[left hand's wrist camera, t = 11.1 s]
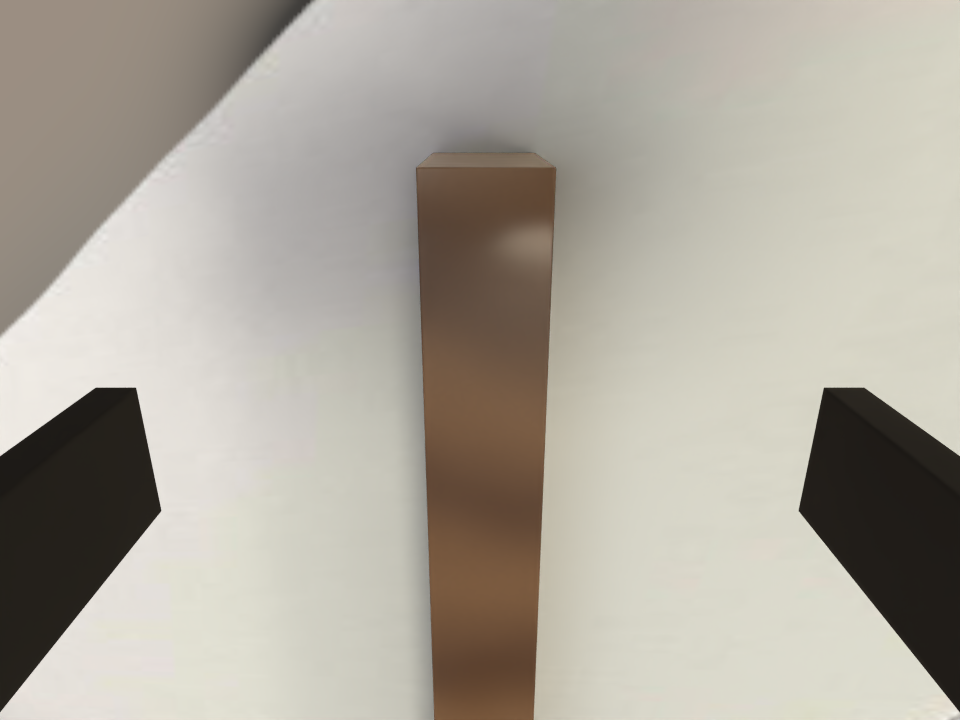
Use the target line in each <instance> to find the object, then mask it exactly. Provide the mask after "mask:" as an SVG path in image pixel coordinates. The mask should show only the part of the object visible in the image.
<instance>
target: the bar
mask: <svg viewBox="0 0 960 720" xmlns="http://www.w3.org/2000/svg"><path fill="white" fill-rule="evenodd" d="M416 181H417V212H418V242H419V272H420V302H421V332H422V362H423V393H424V423H425V453H426V483H427V513H428V543H429V574H430V604H431V634H432V664H433V694H434V720H534V696H535V672H536V647H537V623H538V599H539V574H540V550H541V525H542V501H543V477H544V452H545V428H546V403H547V379H548V355H549V330H550V306H551V281H552V257H553V233H554V208H555V184H556V168H555V167H554V166H553V165H551V164H550V163H548V162H547V161H546V160H544V159H543V158H541V157H540V156H539V155H537V154H536V153H433V154H431V155H430V156H429V157H428V158H427V159H426V160H425V161H423V162H422V163H421V164H420V165H419V166H418V167H417V168H416Z"/></svg>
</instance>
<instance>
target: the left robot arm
mask: <svg viewBox="0 0 960 720" xmlns="http://www.w3.org/2000/svg"><path fill="white" fill-rule="evenodd" d="M160 512H161V507H160V502H159V497H158V492H157V487H156V482H155V478H154V473H153V468H152V463H151V458H150V453H149V448H148V444H147V439H146V434H145V429H144V424H143V419H142V414H141V410H140V405H139V400H138V395H137V390H136V388H95V389H93V390H92V391H91V392H89V393H88V394H86V395H85V396H84V397H82V398H81V399H79V400H78V401H77V402H75V403H74V404H72V405H71V406H70V407H68V408H67V409H66V410H64V411H63V412H61V413H60V414H59V415H57V416H56V417H54V418H53V419H52V420H50V421H49V422H47V423H46V424H45V425H43V426H42V427H40V428H39V429H38V430H36V431H35V432H33V433H32V434H31V435H29V436H28V437H26V438H25V439H24V440H22V441H21V442H19V443H18V444H17V445H15V446H14V447H12V448H11V449H10V450H8V451H7V452H5V453H4V454H3V455H1V456H0V712H1V710H2V709H3V708H4V707H5V705H6V704H7V703H8V702H9V700H10V699H11V698H12V697H13V695H14V694H15V693H16V692H17V690H18V689H19V688H20V687H21V685H22V684H23V683H24V682H25V680H26V679H27V678H28V677H29V675H30V674H31V673H32V672H33V670H34V669H35V668H36V667H37V665H38V664H39V663H40V662H41V660H42V659H43V658H44V657H45V655H46V654H47V653H48V652H49V650H50V649H51V648H52V647H53V645H54V644H55V643H56V642H57V640H58V639H59V638H60V637H61V635H62V634H63V633H64V632H65V631H66V629H67V628H68V627H69V626H70V624H71V623H72V622H73V621H74V619H75V618H76V617H77V616H78V614H79V613H80V612H81V611H82V609H83V608H84V607H85V606H86V604H87V603H88V602H89V601H90V599H91V598H92V597H93V596H94V594H95V593H96V592H97V591H98V589H99V588H100V587H101V586H102V584H103V583H104V582H105V581H106V579H107V578H108V577H109V576H110V574H111V573H112V572H113V571H114V569H115V568H116V567H117V566H118V564H119V563H120V562H121V561H122V559H123V558H124V557H125V556H126V554H127V553H128V552H129V551H130V549H131V548H132V547H133V546H134V544H135V543H136V542H137V541H138V539H139V538H140V537H141V536H142V534H143V533H144V532H145V531H146V529H147V528H148V527H149V526H150V524H151V523H152V522H153V521H154V519H155V518H156V517H157V516H158V514H159V513H160ZM799 512H800V513H801V514H802V516H803V517H804V518H805V519H806V521H807V522H808V523H809V524H810V526H811V527H812V528H813V529H814V531H815V532H816V533H817V534H818V536H819V537H820V538H821V539H822V541H823V542H824V543H825V544H826V546H827V547H828V548H829V549H830V551H831V552H832V553H833V554H834V556H835V557H836V558H837V559H838V561H839V562H840V563H841V564H842V566H843V567H844V568H845V569H846V571H847V572H848V573H849V574H850V576H851V577H852V578H853V579H854V581H855V582H856V583H857V584H858V586H859V587H860V588H861V589H862V591H863V592H864V593H865V594H866V596H867V597H868V598H869V599H870V601H871V602H872V603H873V604H874V606H875V607H876V608H877V609H878V611H879V612H880V613H881V614H882V616H883V617H884V618H885V619H886V621H887V622H888V623H889V624H890V626H891V627H892V628H893V629H894V631H895V632H896V633H897V634H898V635H899V637H900V638H901V639H902V640H903V642H904V643H905V644H906V645H907V647H908V648H909V649H910V650H911V652H912V653H913V654H914V655H915V657H916V658H917V659H918V660H919V662H920V663H921V664H922V665H923V667H924V668H925V669H926V670H927V672H928V673H929V674H930V675H931V677H932V678H933V679H934V680H935V682H936V683H937V684H938V685H939V687H940V688H941V689H942V690H943V692H944V693H945V694H946V695H947V697H948V698H949V699H950V700H951V702H952V703H953V704H954V705H955V707H956V708H957V709H958V710H959V712H960V456H959V455H957V454H956V453H955V452H953V451H952V450H950V449H949V448H948V447H946V446H945V445H943V444H942V443H941V442H939V441H938V440H936V439H935V438H934V437H932V436H931V435H929V434H928V433H927V432H925V431H924V430H922V429H921V428H920V427H918V426H917V425H915V424H914V423H913V422H911V421H910V420H908V419H907V418H906V417H904V416H903V415H901V414H900V413H899V412H897V411H896V410H894V409H893V408H892V407H890V406H889V405H888V404H886V403H885V402H883V401H882V400H881V399H879V398H878V397H876V396H875V395H874V394H872V393H871V392H869V391H868V390H867V389H865V388H824V390H823V395H822V400H821V405H820V410H819V414H818V419H817V424H816V429H815V434H814V439H813V444H812V448H811V453H810V458H809V463H808V468H807V473H806V478H805V482H804V487H803V492H802V497H801V502H800V507H799Z"/></svg>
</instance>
